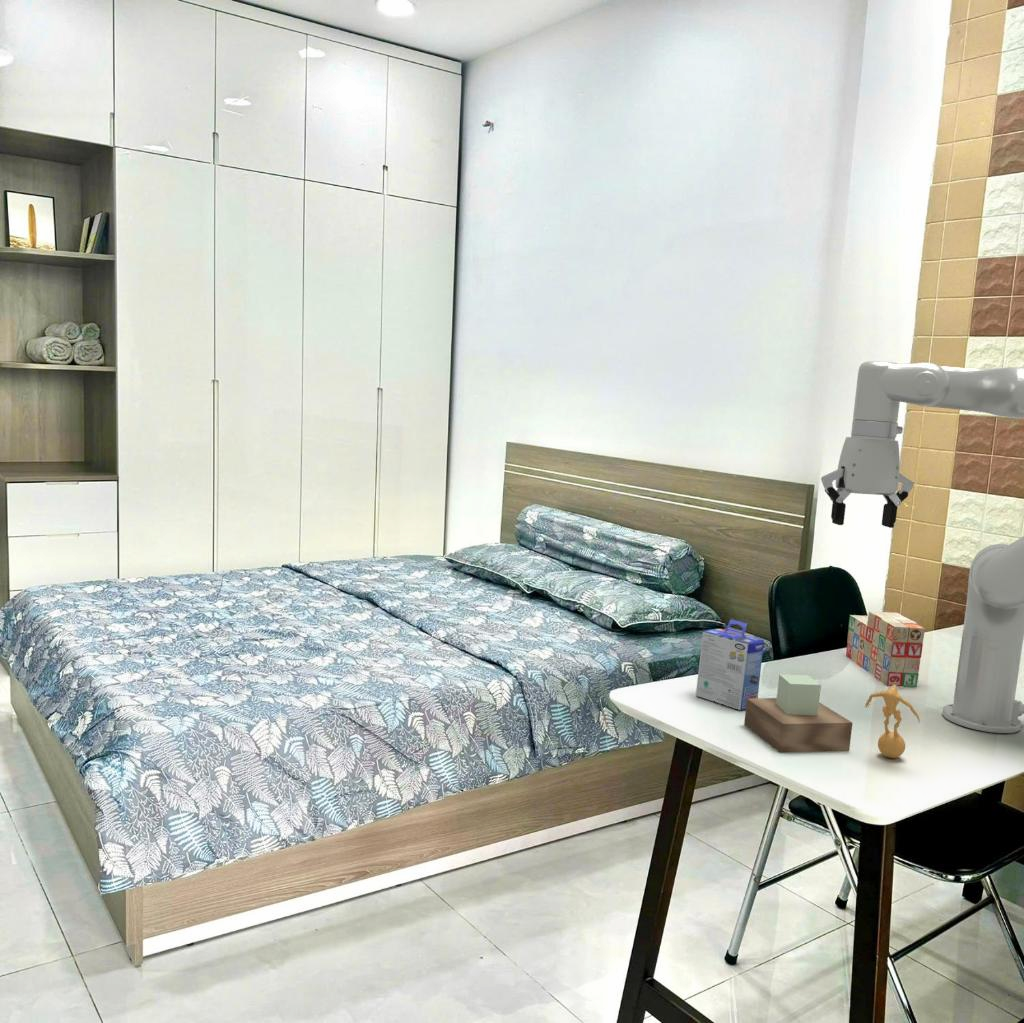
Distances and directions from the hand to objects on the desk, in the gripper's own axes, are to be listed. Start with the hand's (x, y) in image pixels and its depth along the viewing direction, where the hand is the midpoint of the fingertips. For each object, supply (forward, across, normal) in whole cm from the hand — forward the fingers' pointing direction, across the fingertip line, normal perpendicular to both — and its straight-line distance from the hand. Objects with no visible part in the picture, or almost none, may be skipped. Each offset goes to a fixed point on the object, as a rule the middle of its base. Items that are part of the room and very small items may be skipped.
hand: (862, 525), depth 176 cm
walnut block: (+33, +19, +21) cm, 43 cm away
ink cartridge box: (+33, +24, +4) cm, 41 cm away
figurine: (+32, +8, +30) cm, 45 cm away
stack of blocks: (+33, -17, -18) cm, 41 cm away
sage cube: (+28, +19, +21) cm, 40 cm away
